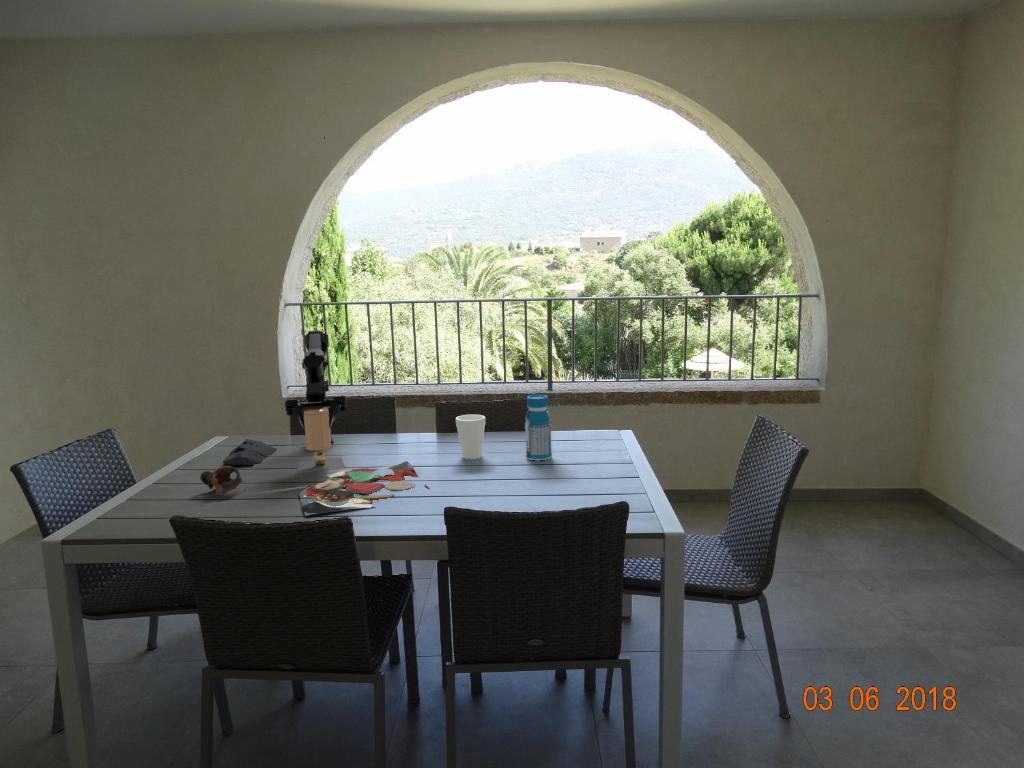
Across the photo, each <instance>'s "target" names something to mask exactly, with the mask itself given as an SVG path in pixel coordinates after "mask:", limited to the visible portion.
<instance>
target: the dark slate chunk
mask: <svg viewBox="0 0 1024 768" xmlns="http://www.w3.org/2000/svg"><path fill="white" fill-rule="evenodd" d="M276 450H277V451H278V449H277V448H276V447H273V446H270V445H268V444H266V443H265V442H262V441H260V440H254V439H249V438H247V439H245V440H244V441H242V443H240V444H239V445H237V447H235V448H233V449H232V450H231V451H230V452H229V453H228V455H227V456H226V457H225V458H224V459H223V460H222V463H223V465H224V466H231V467H234V466H235V465H237V466H239V465H241V466H242V467H243V466H244V467H247V466H249V467H254V466H255V465H260V464H262V463H263V461H264V460H266V459H267V458H268V457H270V456H273V455H274V454H275V453H276V452H277V451H276ZM275 451H276V452H275ZM274 452H275V453H274ZM273 453H274V454H273ZM272 454H273V455H272Z"/></svg>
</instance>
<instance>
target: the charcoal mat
mask: <svg viewBox="0 0 1024 768" xmlns="http://www.w3.org/2000/svg"><path fill="white" fill-rule="evenodd" d="M341 457H342V456H336V457H335V456H334V457H329V458H327V457H326V458H325V465H324V466H316V464H315V459H312V460H311V459H310V460H303V461H301V460H300V461H296V468H297V471H298V474H306V473H307V474H309V473H316V472H325V471H331V470H332V471H334V470H341V469H346V466H345V464H344V462H343V461H344V460H343V459H342V458H341Z"/></svg>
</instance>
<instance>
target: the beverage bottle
mask: <svg viewBox="0 0 1024 768" xmlns="http://www.w3.org/2000/svg"><path fill="white" fill-rule="evenodd" d="M526 407H527V408H528V410H527V411H526V412H525V413H526V414H525V417H524V419H525V424H524V430H525V449H526V450H525V455H526V456H525V457H526V459H527V460H529V461H532V460H535V461H534V462H541V461H540V460H545V461H548V460H550V459H552V456H553V455H552V454H553V453H552V426H553V425H552V423H551V419H552V416H551V414H550V412H549V410H548V409H547V408H548V407H549V397H548V395H547V394H530V395H528V396H526ZM547 459H548V460H547Z"/></svg>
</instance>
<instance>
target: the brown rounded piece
mask: <svg viewBox="0 0 1024 768" xmlns="http://www.w3.org/2000/svg"><path fill="white" fill-rule="evenodd" d="M233 473H235V474H236V477H235V478H234V479H233V478H231V474H233ZM241 476H242V475H241V473H240V471H239V470H238V468H236V467H234V466H228V465H224V466H219V467H217V468H216V469H214V470H213V472H212V471H208V470H205V471H202V472H201V474H200V477H199V479H200V481H201V482H202V483H203V484H204V485H205V486H207V487H208V488H209V490H211V489H213V488H214V487H215V491H214V493H215V495H216V496H218V495H221V496H222V495H223V494H225V493H229V492H230V491H233V490H234V489H237V487H238V486H240V484H241V483H243V482H244V481H243V478H242V477H241Z"/></svg>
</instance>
